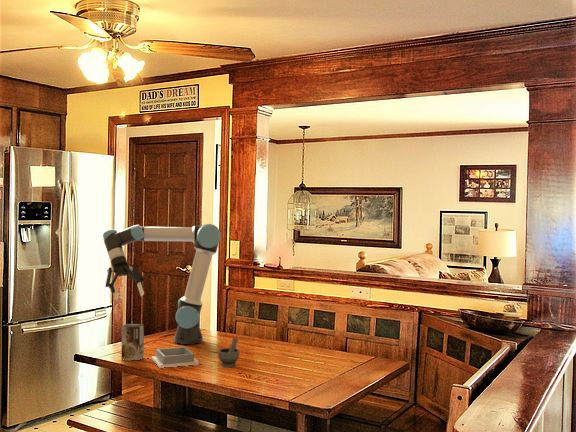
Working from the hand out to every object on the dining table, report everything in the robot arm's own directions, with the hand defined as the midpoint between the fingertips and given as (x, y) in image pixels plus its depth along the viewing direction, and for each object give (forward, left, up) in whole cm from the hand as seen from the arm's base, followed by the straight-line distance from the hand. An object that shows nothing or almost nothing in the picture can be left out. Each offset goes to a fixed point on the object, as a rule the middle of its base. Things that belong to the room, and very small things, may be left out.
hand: (130, 296), depth 297 cm
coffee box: (0, +11, -28) cm, 30 cm away
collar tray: (-17, +24, -28) cm, 40 cm away
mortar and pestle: (-39, +38, -28) cm, 61 cm away
